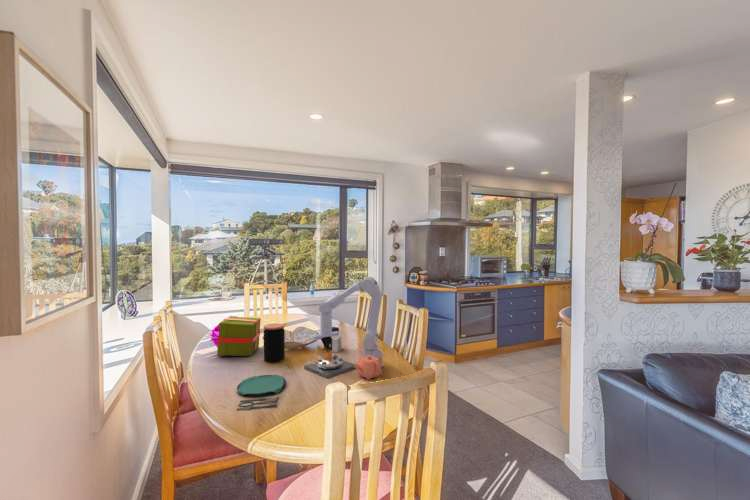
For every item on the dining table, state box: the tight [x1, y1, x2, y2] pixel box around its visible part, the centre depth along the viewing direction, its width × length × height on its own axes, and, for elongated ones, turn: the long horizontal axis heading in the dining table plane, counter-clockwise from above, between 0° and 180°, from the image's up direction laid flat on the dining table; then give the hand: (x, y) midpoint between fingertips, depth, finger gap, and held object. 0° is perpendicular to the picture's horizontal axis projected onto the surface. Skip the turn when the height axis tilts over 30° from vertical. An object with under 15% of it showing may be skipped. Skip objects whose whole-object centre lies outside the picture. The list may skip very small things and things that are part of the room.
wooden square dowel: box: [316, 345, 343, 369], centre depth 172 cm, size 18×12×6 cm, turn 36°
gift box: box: [209, 315, 262, 357], centre depth 195 cm, size 21×21×25 cm
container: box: [329, 326, 343, 353], centre depth 199 cm, size 8×8×13 cm
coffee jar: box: [263, 322, 286, 363], centre depth 183 cm, size 11×11×18 cm
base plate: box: [303, 359, 356, 379], centre depth 169 cm, size 18×18×2 cm
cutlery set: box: [236, 374, 287, 412], centre depth 142 cm, size 20×30×2 cm, turn 10°
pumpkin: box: [354, 355, 383, 381], centre depth 158 cm, size 12×12×10 cm
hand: (326, 351), depth 176 cm, fingers closed
